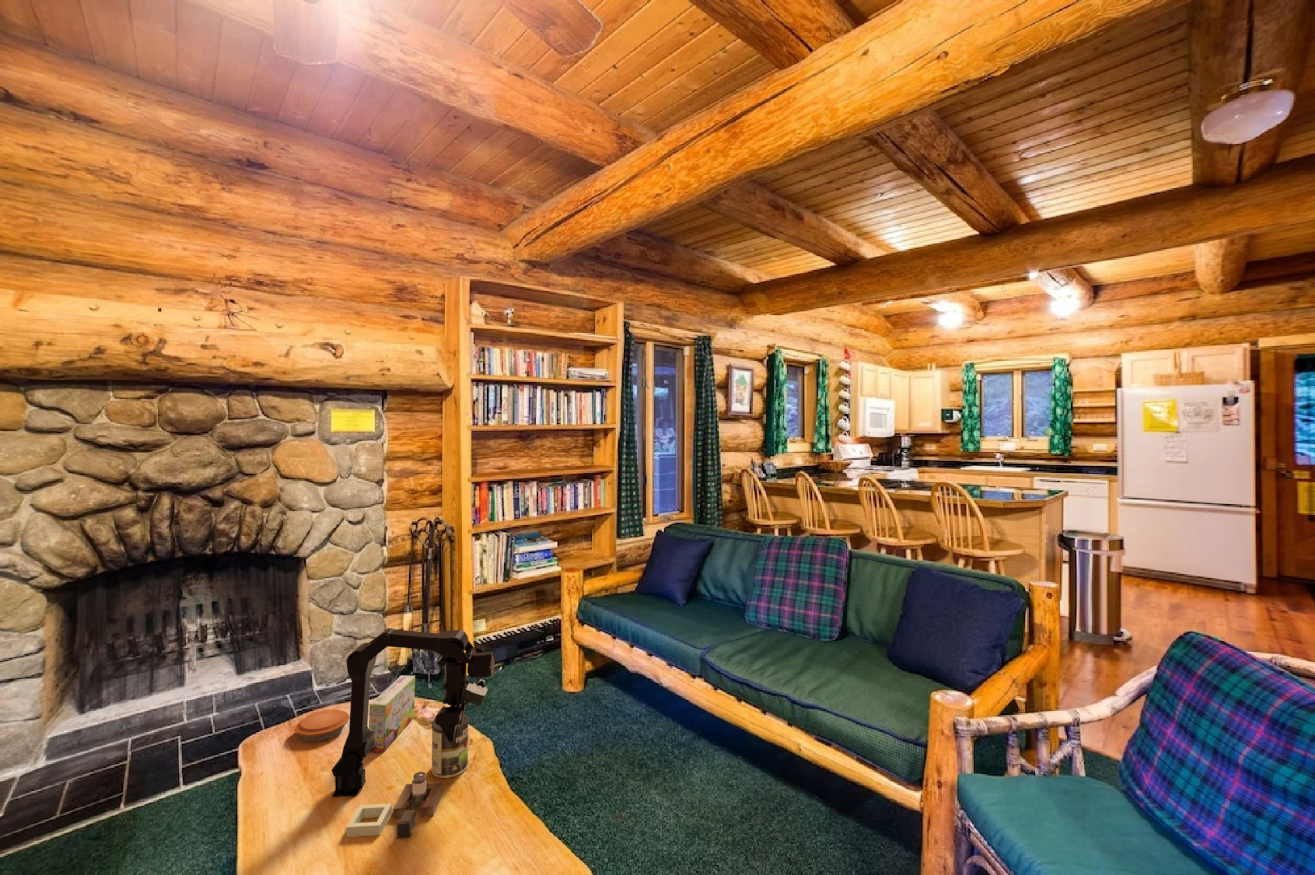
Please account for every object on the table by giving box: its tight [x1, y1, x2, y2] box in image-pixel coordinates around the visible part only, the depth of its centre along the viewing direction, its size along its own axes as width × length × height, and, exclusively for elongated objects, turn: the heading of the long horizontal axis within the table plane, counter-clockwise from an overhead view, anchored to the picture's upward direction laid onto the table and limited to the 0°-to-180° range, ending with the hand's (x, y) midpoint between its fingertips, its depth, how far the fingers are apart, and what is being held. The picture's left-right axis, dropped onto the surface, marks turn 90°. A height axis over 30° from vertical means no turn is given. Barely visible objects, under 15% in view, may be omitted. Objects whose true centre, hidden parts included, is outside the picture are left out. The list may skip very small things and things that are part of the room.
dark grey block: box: [396, 809, 416, 839], centre depth 142 cm, size 3×5×4 cm, turn 6°
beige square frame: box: [345, 803, 393, 838], centre depth 144 cm, size 8×8×2 cm
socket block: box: [392, 781, 445, 819], centre depth 152 cm, size 10×10×2 cm
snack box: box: [368, 675, 416, 753], centre depth 186 cm, size 21×6×15 cm, turn 179°
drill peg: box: [411, 771, 428, 810], centre depth 152 cm, size 4×4×8 cm
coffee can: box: [431, 713, 470, 779], centre depth 168 cm, size 10×10×14 cm
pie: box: [294, 709, 350, 743], centre depth 186 cm, size 15×16×5 cm
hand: (455, 732), depth 161 cm, fingers open, 9 cm apart
